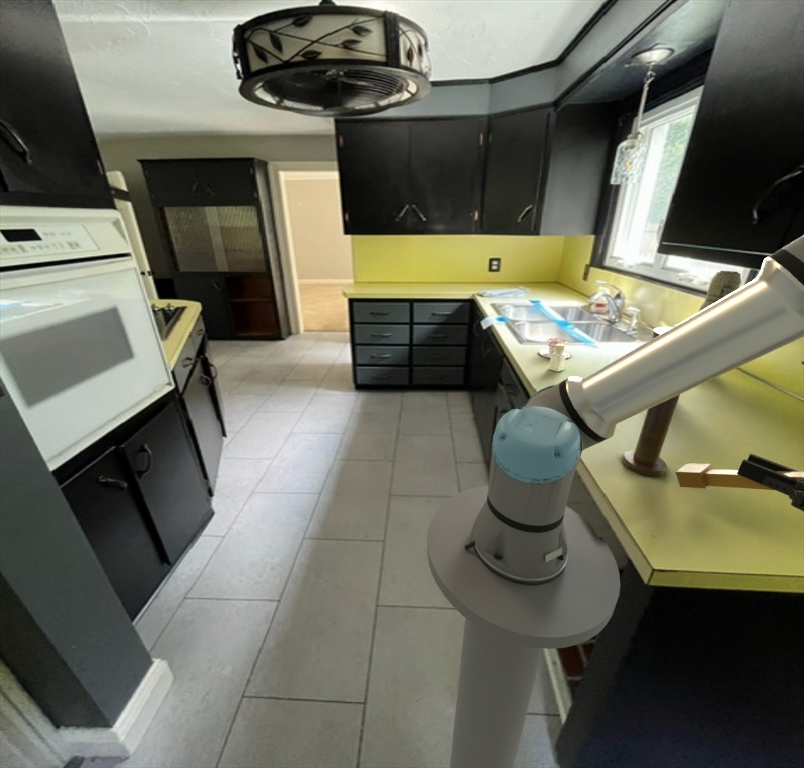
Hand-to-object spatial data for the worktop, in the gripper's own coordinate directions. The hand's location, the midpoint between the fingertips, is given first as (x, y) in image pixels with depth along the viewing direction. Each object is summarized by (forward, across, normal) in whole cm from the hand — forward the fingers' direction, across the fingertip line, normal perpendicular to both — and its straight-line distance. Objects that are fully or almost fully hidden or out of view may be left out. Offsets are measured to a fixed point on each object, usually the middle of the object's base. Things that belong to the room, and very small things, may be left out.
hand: (744, 463), depth 62 cm
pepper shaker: (+63, +38, -11) cm, 75 cm away
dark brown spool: (+15, +4, -11) cm, 19 cm away
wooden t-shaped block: (-1, 0, -4) cm, 4 cm away
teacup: (+75, +52, -11) cm, 92 cm away
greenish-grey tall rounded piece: (+35, +81, -11) cm, 89 cm away
